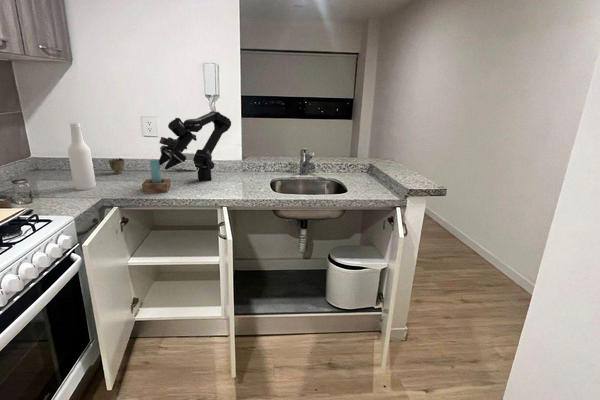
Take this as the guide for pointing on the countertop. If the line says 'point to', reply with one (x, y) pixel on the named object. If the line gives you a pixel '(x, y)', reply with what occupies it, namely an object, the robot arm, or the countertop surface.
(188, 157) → the small box
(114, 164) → the cup
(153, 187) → the socket
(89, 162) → the alcohol
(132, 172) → the countertop surface
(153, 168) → the peg
